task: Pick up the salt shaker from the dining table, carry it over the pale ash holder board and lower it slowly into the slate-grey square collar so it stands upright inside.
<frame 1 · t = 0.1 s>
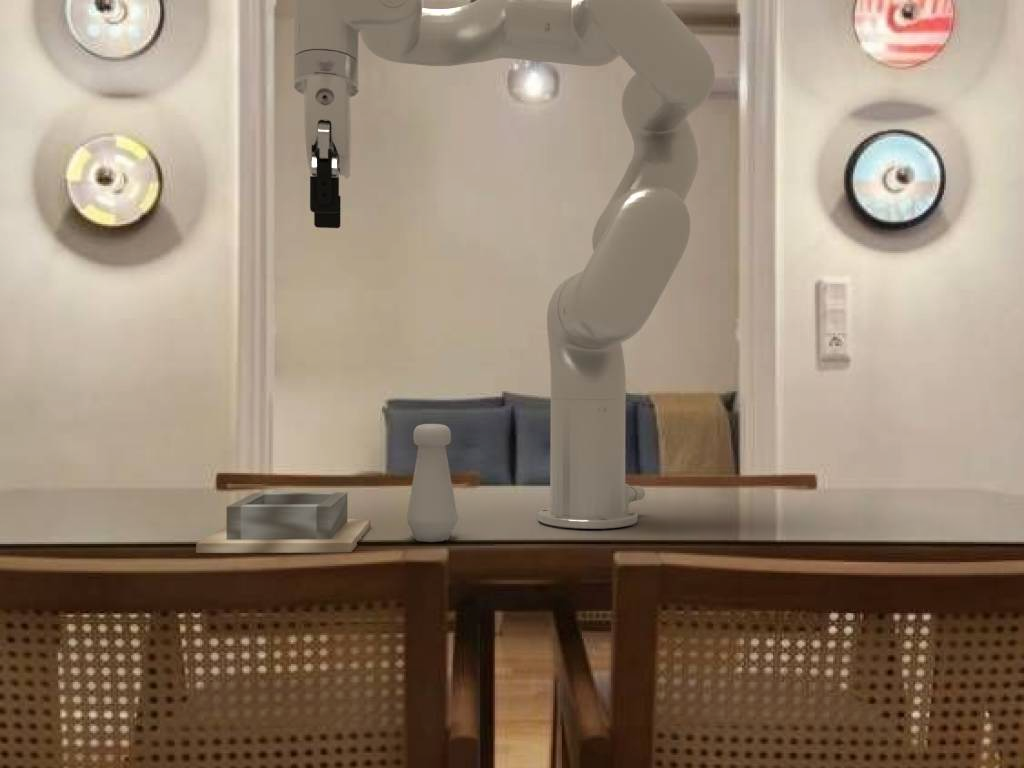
hand: (326, 220, 100), 37 cm above the table, tool pointing down, fingers open, 9 cm apart
salt shaker: (432, 540, 95), on the table
holder: (290, 538, 95), on the table
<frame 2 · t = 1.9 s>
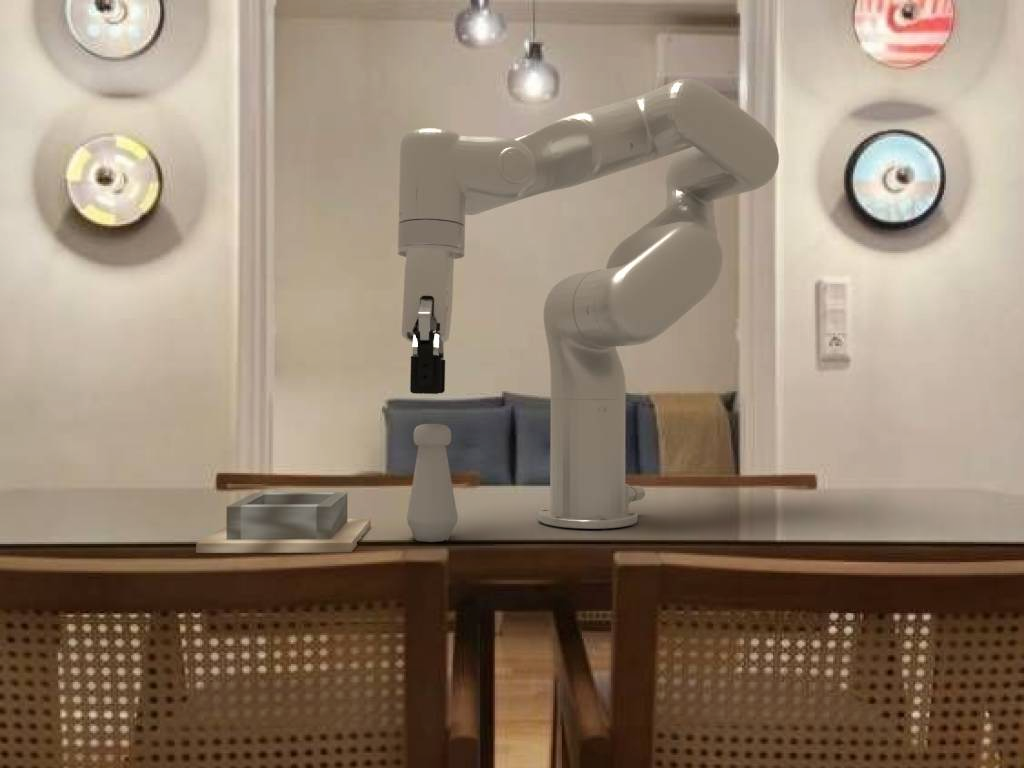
hand: (428, 393, 95), 17 cm above the table, tool pointing down, fingers open, 9 cm apart
nothing on the table moved.
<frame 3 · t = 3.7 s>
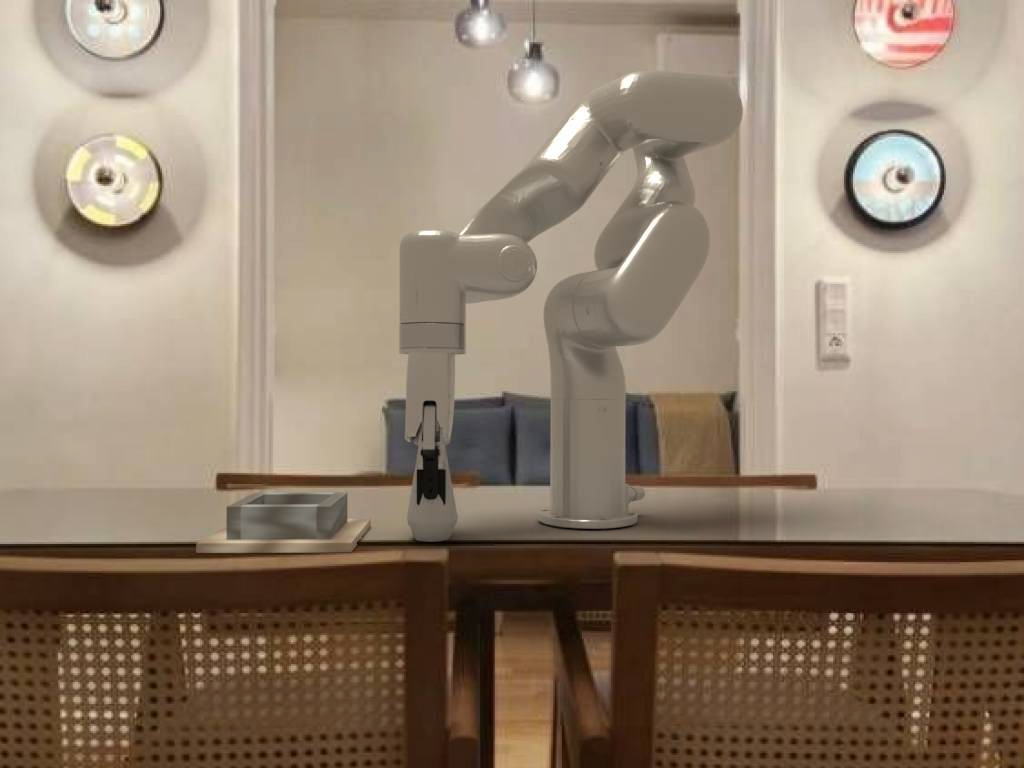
hand: (432, 501, 95), 4 cm above the table, tool pointing down, fingers closed on salt shaker, 3 cm apart
salt shaker: (432, 540, 95), on the table, touching gripper
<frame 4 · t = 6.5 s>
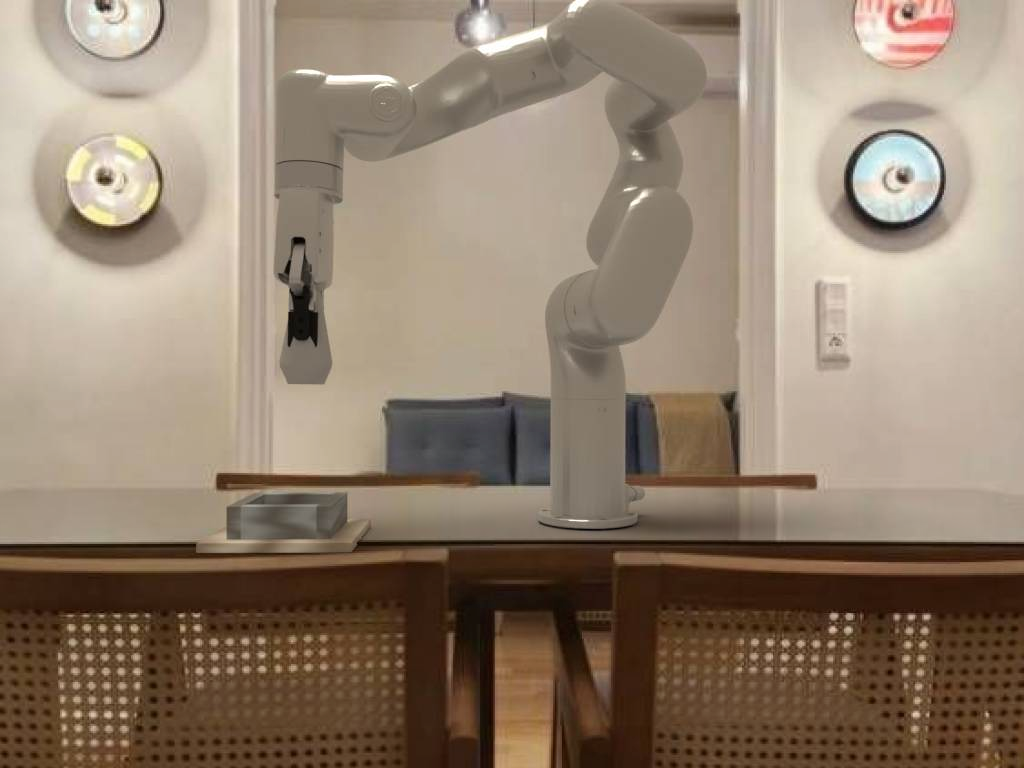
hand: (306, 347, 95), 22 cm above the table, tool pointing down, fingers closed on salt shaker, 3 cm apart
salt shaker: (305, 386, 95), point 17 cm above the table, touching gripper
when the fingers open (7 cm above the table, at t = 9.1 s): salt shaker drops 1 cm, resting on holder.
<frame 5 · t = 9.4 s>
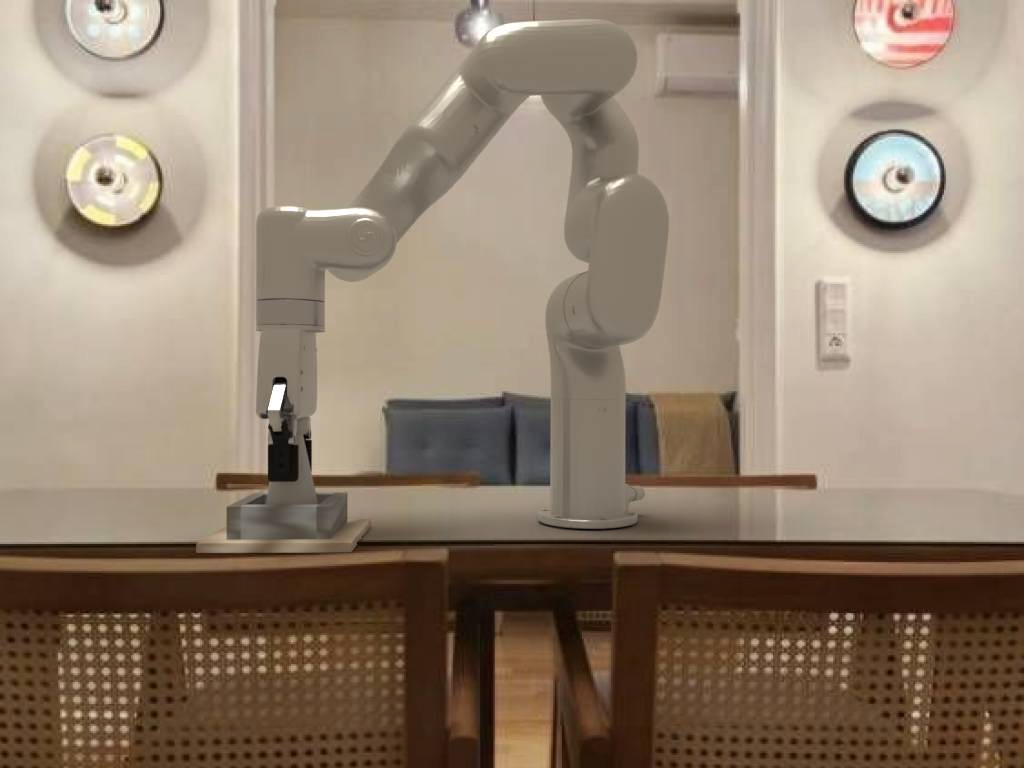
hand: (290, 476, 95), 7 cm above the table, tool pointing down, fingers open, 6 cm apart
salt shaker: (292, 530, 95), point 1 cm above the table, touching holder
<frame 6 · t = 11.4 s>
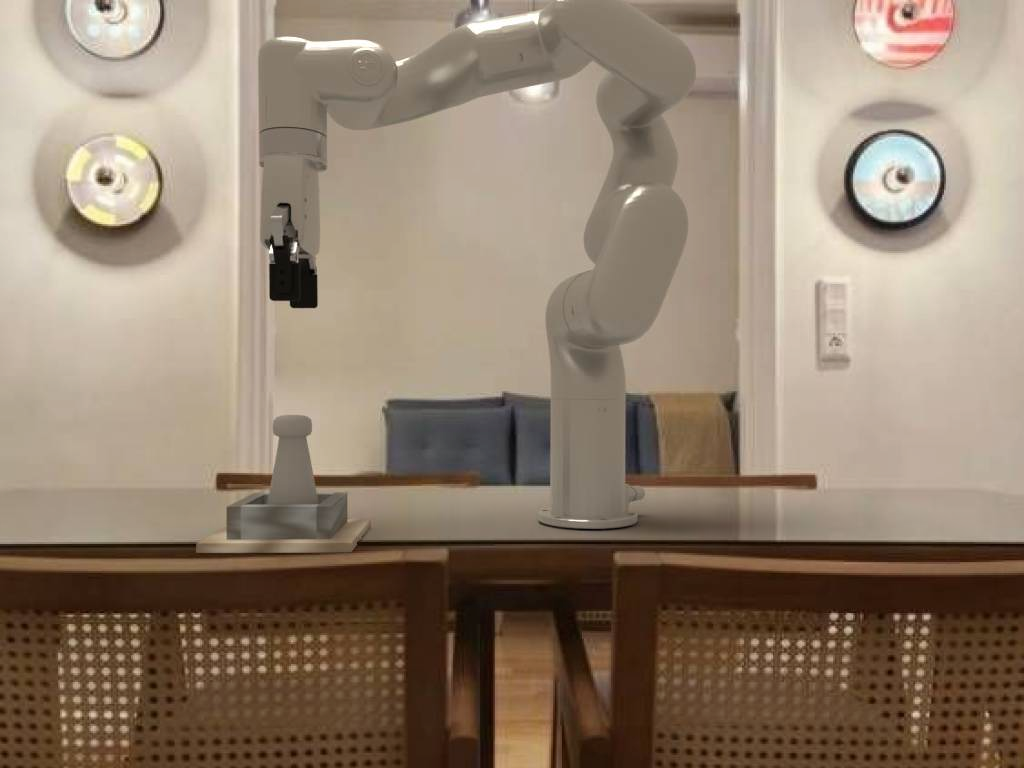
hand: (294, 304, 95), 27 cm above the table, tool pointing down, fingers open, 9 cm apart
nothing on the table moved.
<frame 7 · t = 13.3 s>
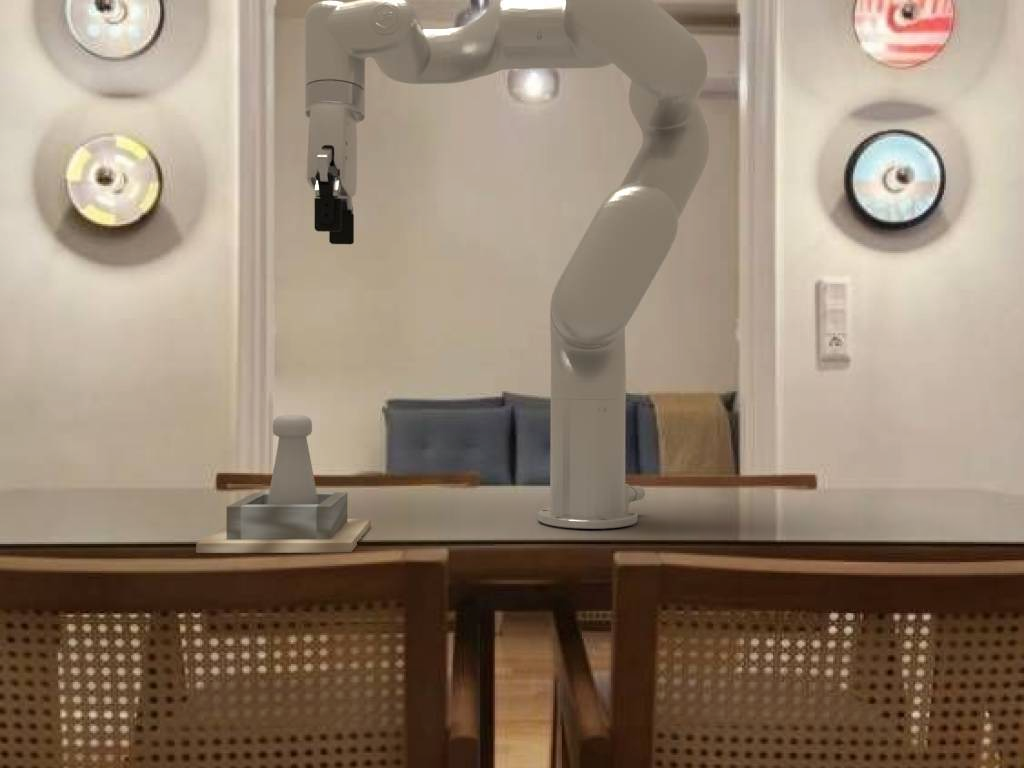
hand: (335, 237, 108), 36 cm above the table, tool pointing down, fingers open, 9 cm apart
nothing on the table moved.
at the end: salt shaker 0.2 cm off-centre on the holder, point 0.8 cm above the holder's base; salt shaker tilted 0°; the gripper is holding nothing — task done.
